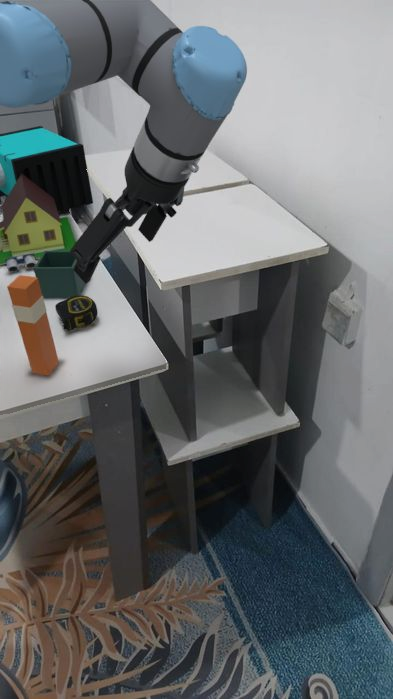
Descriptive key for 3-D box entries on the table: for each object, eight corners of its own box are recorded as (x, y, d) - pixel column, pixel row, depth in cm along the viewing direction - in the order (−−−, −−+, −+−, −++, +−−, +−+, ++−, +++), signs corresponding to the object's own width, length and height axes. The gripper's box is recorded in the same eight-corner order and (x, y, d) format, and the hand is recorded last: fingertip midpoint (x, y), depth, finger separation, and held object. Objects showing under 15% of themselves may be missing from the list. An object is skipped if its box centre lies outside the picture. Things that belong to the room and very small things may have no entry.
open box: (40, 298, 104) (33, 268, 100) (50, 279, 110) (44, 250, 106) (79, 298, 104) (73, 268, 100) (87, 279, 109) (81, 250, 105)
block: (31, 373, 86) (6, 286, 77) (42, 359, 89) (19, 274, 79) (48, 376, 86) (25, 289, 76) (59, 362, 88) (38, 277, 78)
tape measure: (57, 316, 99) (52, 299, 97) (93, 307, 101) (90, 290, 99) (64, 336, 94) (60, 319, 92) (103, 326, 96) (100, 309, 94)
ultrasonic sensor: (9, 275, 114) (6, 266, 111) (7, 266, 115) (4, 257, 111) (38, 269, 115) (35, 260, 112) (36, 260, 116) (33, 251, 113)
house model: (-7, 266, 114) (-24, 208, 107) (-9, 229, 130) (-24, 177, 122) (79, 251, 118) (68, 195, 111) (67, 217, 134) (57, 166, 126)
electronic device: (-35, 202, 144) (-52, 144, 135) (52, 180, 155) (41, 125, 146) (-1, 232, 127) (-19, 168, 118) (93, 205, 138) (84, 144, 129)
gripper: (109, 228, 57) (69, 315, 75) (244, 146, 71) (184, 236, 89) (61, 176, 58) (33, 275, 75) (206, 105, 71) (153, 203, 89)
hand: (114, 254), depth 82 cm, fingers open, 13 cm apart
